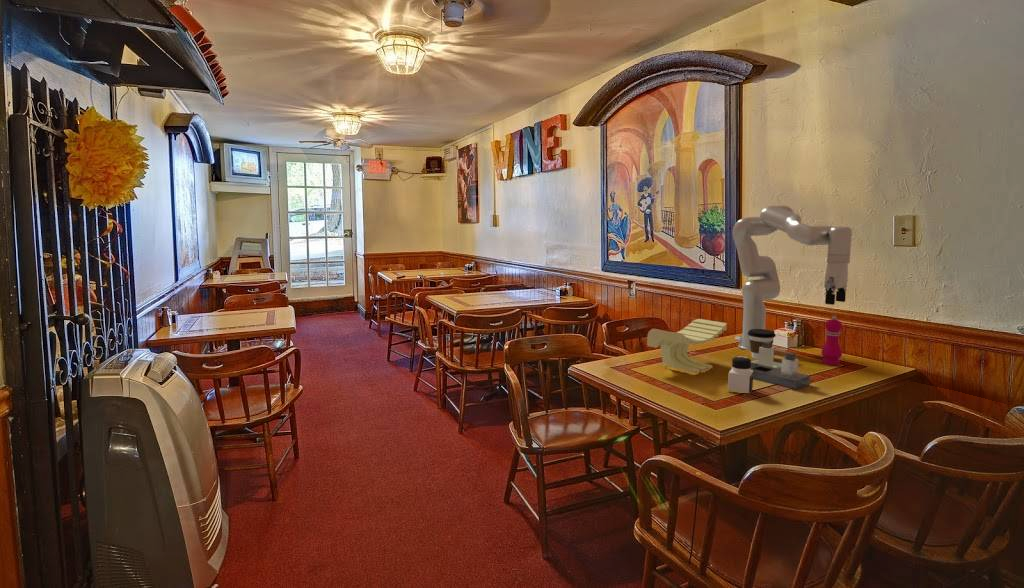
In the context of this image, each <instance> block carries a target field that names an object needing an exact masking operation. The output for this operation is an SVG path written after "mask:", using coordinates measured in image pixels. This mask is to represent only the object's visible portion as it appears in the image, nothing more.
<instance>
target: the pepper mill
mask: <svg viewBox="0 0 1024 588" xmlns="http://www.w3.org/2000/svg"><path fill="white" fill-rule="evenodd" d="M824 328H825V329H826V330H825V332H826V333H825V335H826V341H825V343H824V345H823V347H822V349H821V355H822V356H823V357H822V358H821V360H822V361H821V362H822V364H823V363H824V365H826V364H829V365H828V366H839V365H840V364H841V360H840V358H841V357H842V356H843V352H842V351H843V350H842V349H841V346H840V344H839V337H840V336H841V330H842V328H843V324H842V322H841V321H840V320H838V319H837V316H836V315H832V316H831V319H829V320H827V321H826V322H825V323H824Z"/></svg>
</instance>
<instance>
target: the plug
mask: <svg viewBox="0 0 1024 588" xmlns="http://www.w3.org/2000/svg"><path fill="white" fill-rule="evenodd" d="M774 354H775V347H773V346H772V347H771V343H770V342H763V343H762V347H759V359H757V360H758V364H760V365H765V366H769V367H773V362H774V358H775V357H774Z"/></svg>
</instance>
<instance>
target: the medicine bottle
mask: <svg viewBox="0 0 1024 588" xmlns="http://www.w3.org/2000/svg"><path fill="white" fill-rule="evenodd" d="M751 361H752V360H751V358H749V357H746V356H735V357H733V358H732V360H731V369H730V370H729V372H728V377H727V378H728V379H727V380H728V381H727V391H728V390H732V391H737V392H743V393H750V392H751V393H752V391H753V389H752V388H753V386H754V385H753V384H754V379H753V370H751ZM751 390H752V391H751ZM751 393H750V394H751Z"/></svg>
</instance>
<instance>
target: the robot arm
mask: <svg viewBox="0 0 1024 588" xmlns="http://www.w3.org/2000/svg"><path fill="white" fill-rule="evenodd" d="M777 231H782V232H784V233H786V235H787V236H788V237H789V238H790V239H791V240H792V241H796V242H799V243H800V244H803V245H807V246H826V245H827V258H826V263H827V265H826V268H825V275H824V282H823V287H824V289H825V291H824V292H825V300H824V304H825V305H832V306H833V305H836V304H835V303H836V302H841V303H842V302H843V303H845V302H846V293H847V286H848V275H849V273H848V272H849V269H848V268H849V265H848V264H850V261H851V249H852V236H853V230H852V228H851V227H849V226H831V225H809V224H805V223H803V222H802V218H801V215H799V214H798V213H795V212H794V210H793V209H792V208H791V207H790V206H787V205H769V206H766V207H764V208H763V209H762V210H761V211H760V214H759V216H747V217H743V218H740V219H739V220H737V221H736V222H735V224H734V226H733V228H732V238H733V242H734V244H735V247H736V251H737V255H738V256H737V257H738V261H739V267H740V270H741V273H742V275H743V276H744V277H746V278H758V277H759V279H751V280H748V281H746V282H745V283H744V284H743V285H742V287H741V288H742V289H741V295H742V303H743V313H742V336H738V335H736V336H735V337H734V341H735V342H738V345H737V347H738V348H739V349H742V350H745V351H751V349H750V341H749V338H750V337H749V335H748V332H749V330H751V329H765V330H766V324H767V323H766V321H767V309H766V305H765V303H764V301H766V300H773V299H774V300H775V298H778V297H779V295H780V293H781V285H780V283H781V282H780V278H779V275H778V270H777V267H776V262H775V261H774V259H772V258H771V257H770V256H768V255H759V251H758V246H757V244H756V241H754V240H753V238H752V237H753V236H754V237H758V236H759V237H760V236H768V235H770V234H773V233H775V232H777Z"/></svg>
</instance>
